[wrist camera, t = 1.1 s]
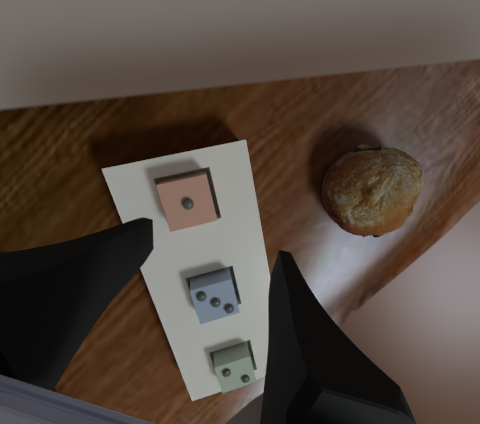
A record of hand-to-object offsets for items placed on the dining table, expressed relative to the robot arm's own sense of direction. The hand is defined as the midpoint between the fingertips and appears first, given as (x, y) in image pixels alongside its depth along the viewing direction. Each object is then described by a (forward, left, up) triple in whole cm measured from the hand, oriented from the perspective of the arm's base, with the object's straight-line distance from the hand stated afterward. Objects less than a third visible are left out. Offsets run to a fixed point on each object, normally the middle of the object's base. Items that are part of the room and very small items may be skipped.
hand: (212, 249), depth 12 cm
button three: (-1, -9, -9) cm, 12 cm away
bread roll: (+18, -3, -11) cm, 21 cm away
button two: (-1, -19, -9) cm, 21 cm away
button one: (-1, +1, -9) cm, 9 cm away
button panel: (-1, -9, -11) cm, 14 cm away
